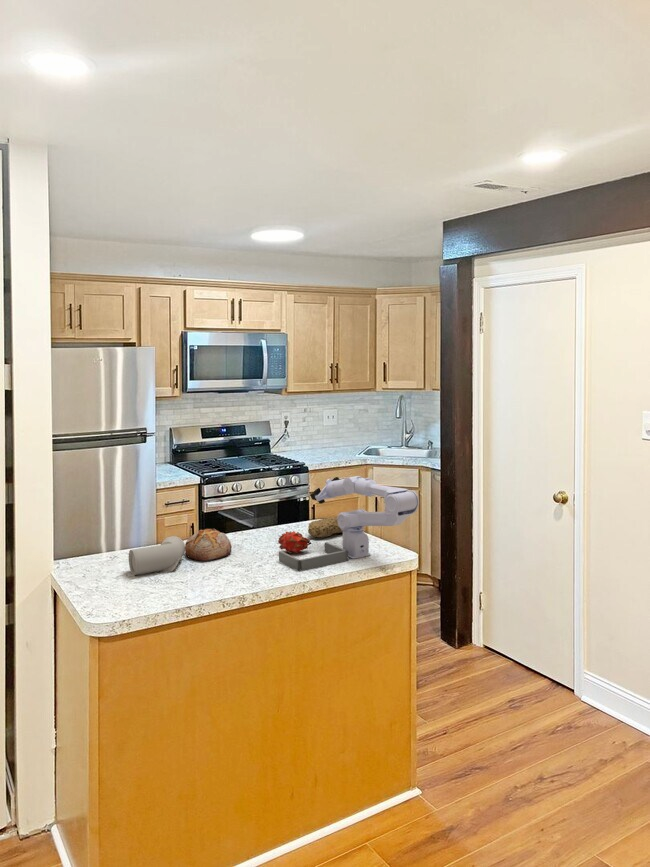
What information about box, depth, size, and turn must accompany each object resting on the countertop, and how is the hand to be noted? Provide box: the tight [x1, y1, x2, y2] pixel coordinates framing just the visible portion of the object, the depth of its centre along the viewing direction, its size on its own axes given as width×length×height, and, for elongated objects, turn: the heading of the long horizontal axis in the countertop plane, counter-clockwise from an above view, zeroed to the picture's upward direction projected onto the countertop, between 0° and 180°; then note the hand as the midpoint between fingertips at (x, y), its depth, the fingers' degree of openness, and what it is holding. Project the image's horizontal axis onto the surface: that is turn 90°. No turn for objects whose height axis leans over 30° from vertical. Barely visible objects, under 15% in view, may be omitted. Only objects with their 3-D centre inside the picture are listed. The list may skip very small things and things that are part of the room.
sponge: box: [307, 515, 343, 538], centre depth 275 cm, size 13×8×20 cm
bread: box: [184, 528, 232, 562], centre depth 251 cm, size 16×20×10 cm
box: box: [278, 541, 349, 572], centre depth 242 cm, size 13×20×4 cm, turn 124°
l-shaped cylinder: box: [128, 535, 186, 576], centre depth 235 cm, size 18×11×20 cm
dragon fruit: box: [277, 530, 312, 555], centre depth 251 cm, size 8×8×12 cm
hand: (319, 492), depth 264 cm, fingers open, 7 cm apart
